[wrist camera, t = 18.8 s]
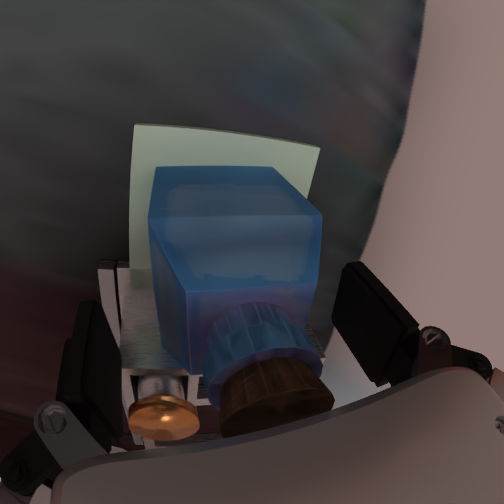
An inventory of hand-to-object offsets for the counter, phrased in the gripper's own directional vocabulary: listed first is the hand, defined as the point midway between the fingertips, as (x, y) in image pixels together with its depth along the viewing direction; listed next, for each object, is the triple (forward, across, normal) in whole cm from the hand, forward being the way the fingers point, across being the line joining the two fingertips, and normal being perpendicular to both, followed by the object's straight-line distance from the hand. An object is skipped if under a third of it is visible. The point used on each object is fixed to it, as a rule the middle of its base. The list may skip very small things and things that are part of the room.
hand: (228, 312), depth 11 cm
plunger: (+7, +4, +8) cm, 11 cm away
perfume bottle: (+7, -1, 0) cm, 7 cm away
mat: (+8, -1, 0) cm, 8 cm away
